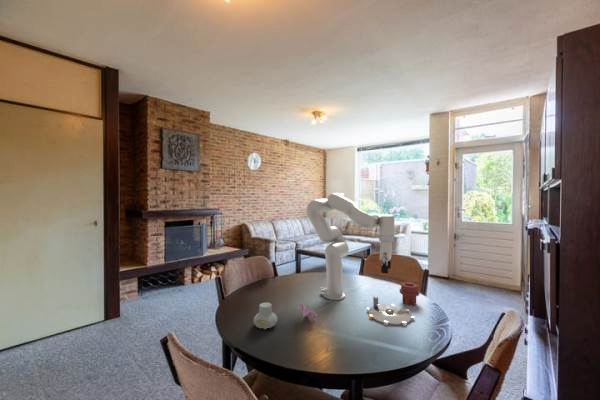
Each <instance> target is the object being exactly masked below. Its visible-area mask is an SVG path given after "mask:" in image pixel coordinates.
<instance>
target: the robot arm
mask: <svg viewBox="0 0 600 400" xmlns="http://www.w3.org/2000/svg"><path fill="white" fill-rule="evenodd" d="M334 210H336V211H339V212H340V213H342V214H344V215H346V216H347V217H348V218H349V219H350V220H351V221H352V222H354V223H355V224H356V225H358V226H361V227H362V228H364V229H368V230H370V229H374V228H378V230H379V232H378V236H379V237H378V241H379V242H380V246H379V261H381V267H380V268H381V270H380V273H382V274H389V270H390V269H391V268H392V267H391V265H392V261H391V260H392V254H393V252H392V251H393V243H394V242H395V216H394V215H392V214H380V213H367V212H364V211H363V210H361V209H359V208H358V207H357V204H356V202H354V201H352V200H351V199H349V198H347V196H346V195H345V194H344V193H343V192H341V193H340V192H333V193H330V194H328V196H327V198H315V199H313V200H311V201H310V202H309V203H308V205H307V207H306V214H307V217H308V219H309V221H310V222H311V224H312V227H313V228H314V231H315V232H316V234H317V236H318V238H319V240H320V242H322V243H324V244H328V243H330V244H328V245H327V246H326V247H325V249H324V256H325V263H326V264H325V265H326V267H325V268H326V271H325V272H326V273H325V274H326V275H325V276H326V282H325V283H326V287H323V286H320V292H322V293H323V297H324V298H325V299H327V300H330V301H340V300H341V301H342V300H344V299H345V298H346V294H345V293H344V292H343V270H344V269H343V262H342V258H344V257H346V256H347V255H348V254H349V250H350V249H349V244H348V242H347V241H346V239H345V238H344V236H343V235H344V234H342V232H341V230H340V229H339V228H338V227H336V226H335V225H331V226H330V225H329V224H328V222H327V220H326V218H325V217H324V216H323V215H322V213H328V212H331V211H334Z"/></svg>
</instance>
